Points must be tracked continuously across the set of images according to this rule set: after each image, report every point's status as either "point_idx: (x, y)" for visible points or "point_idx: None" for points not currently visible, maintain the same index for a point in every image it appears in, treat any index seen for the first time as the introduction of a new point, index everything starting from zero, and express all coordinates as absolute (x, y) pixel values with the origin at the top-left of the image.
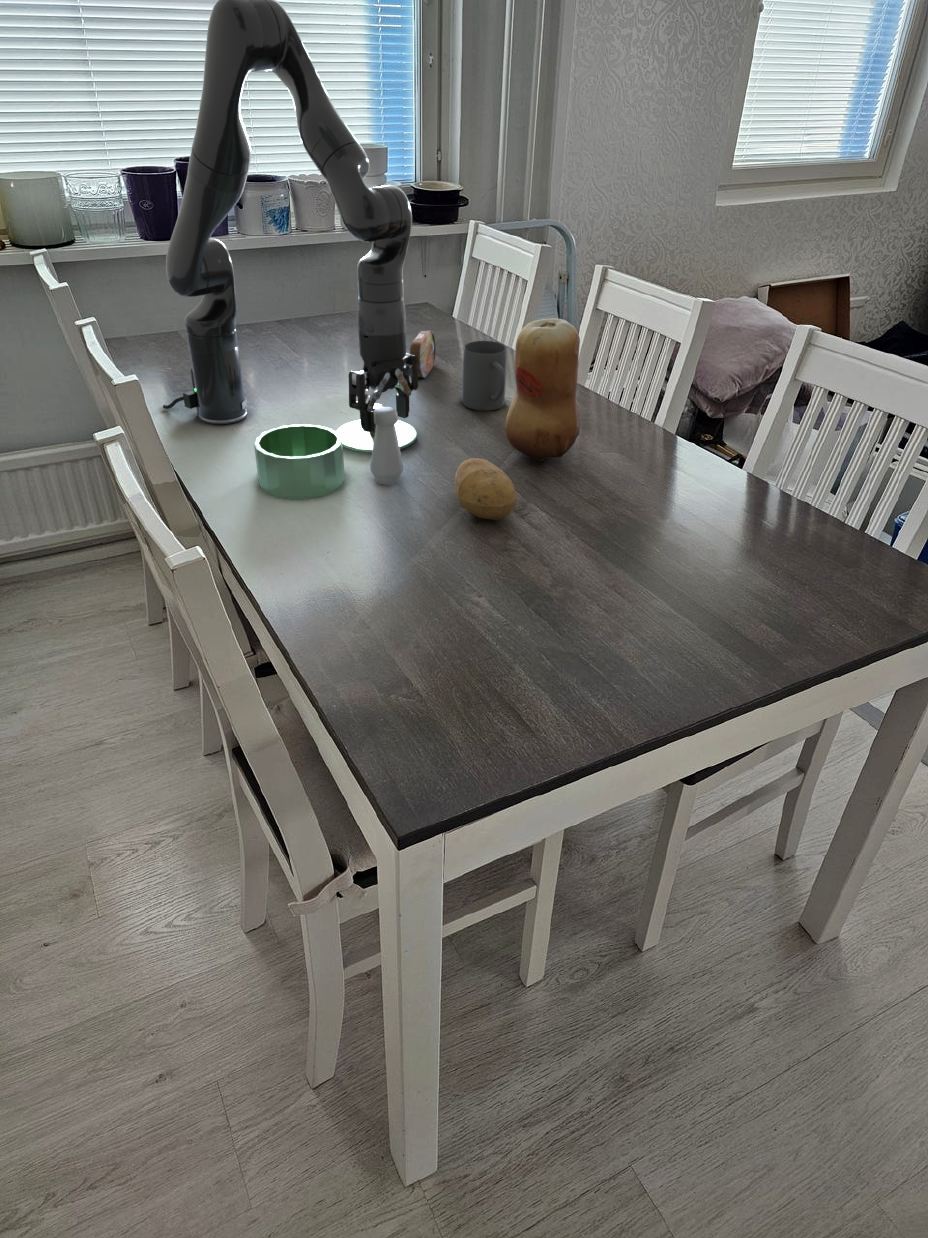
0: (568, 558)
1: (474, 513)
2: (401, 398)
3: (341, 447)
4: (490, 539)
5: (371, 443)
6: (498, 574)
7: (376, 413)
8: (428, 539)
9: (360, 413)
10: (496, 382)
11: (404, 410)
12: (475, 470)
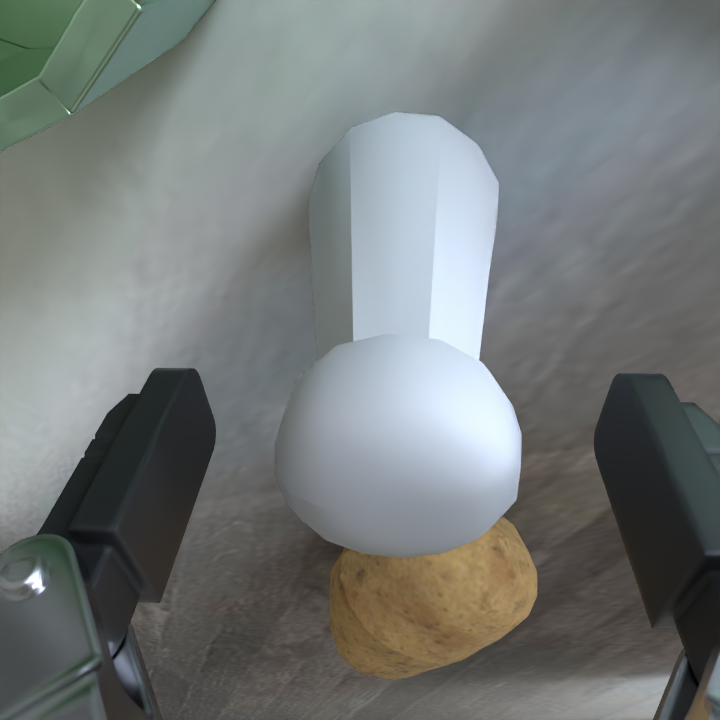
0: None
1: None
2: (664, 578)
3: (114, 70)
4: (326, 562)
5: None
6: (238, 604)
7: (286, 485)
8: (210, 497)
9: (51, 521)
10: None
11: (615, 490)
12: (395, 649)
